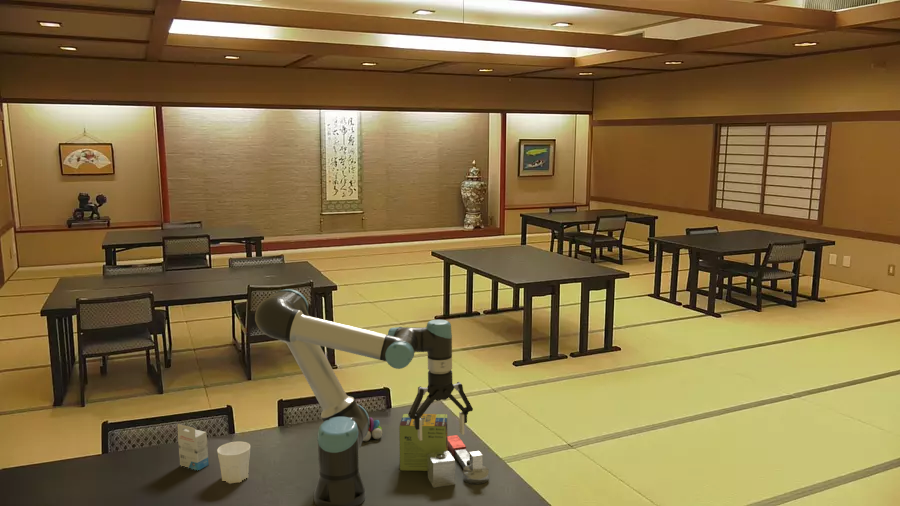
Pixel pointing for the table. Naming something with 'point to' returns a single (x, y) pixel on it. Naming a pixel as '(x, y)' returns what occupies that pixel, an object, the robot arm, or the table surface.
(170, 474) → the table surface
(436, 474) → the metal cube with knob
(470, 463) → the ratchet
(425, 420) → the protein box
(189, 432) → the ink box
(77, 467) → the table surface
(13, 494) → the table surface
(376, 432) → the rainbow finned toy
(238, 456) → the cup
